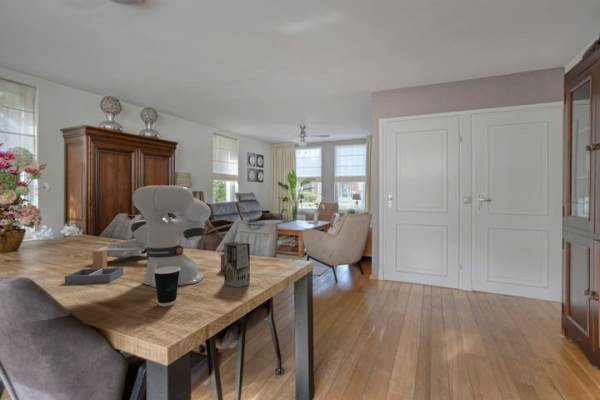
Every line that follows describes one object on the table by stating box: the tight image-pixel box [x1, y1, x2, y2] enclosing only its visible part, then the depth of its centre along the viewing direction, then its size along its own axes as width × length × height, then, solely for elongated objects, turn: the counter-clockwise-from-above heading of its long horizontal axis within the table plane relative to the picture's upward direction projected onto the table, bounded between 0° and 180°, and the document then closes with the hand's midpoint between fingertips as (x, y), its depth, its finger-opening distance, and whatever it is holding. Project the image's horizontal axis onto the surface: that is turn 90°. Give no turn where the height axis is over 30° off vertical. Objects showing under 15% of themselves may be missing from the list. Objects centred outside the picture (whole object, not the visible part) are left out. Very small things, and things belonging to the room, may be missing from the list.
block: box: [92, 249, 108, 269], centre depth 131 cm, size 4×4×10 cm
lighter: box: [220, 248, 224, 272], centre depth 134 cm, size 8×3×10 cm, turn 71°
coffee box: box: [223, 241, 251, 289], centre depth 114 cm, size 9×6×16 cm
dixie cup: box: [153, 267, 180, 307], centre depth 93 cm, size 8×8×11 cm
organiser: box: [64, 267, 124, 285], centre depth 120 cm, size 16×12×3 cm
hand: (112, 254), depth 143 cm, fingers open, 8 cm apart
